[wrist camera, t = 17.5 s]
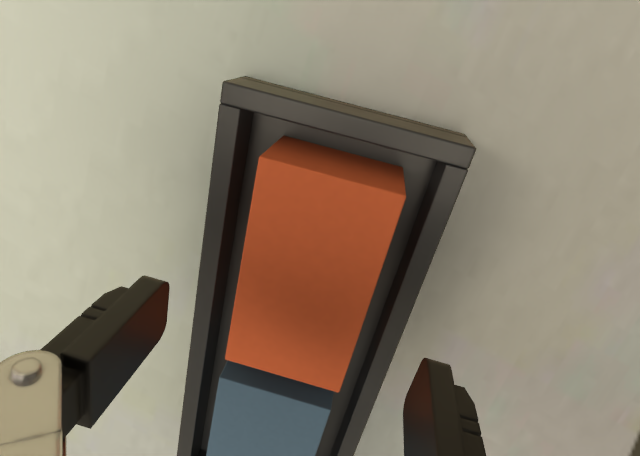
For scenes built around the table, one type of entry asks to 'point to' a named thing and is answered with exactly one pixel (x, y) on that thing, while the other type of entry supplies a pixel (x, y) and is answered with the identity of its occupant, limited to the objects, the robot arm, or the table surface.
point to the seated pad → (266, 414)
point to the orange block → (312, 259)
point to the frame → (232, 219)
